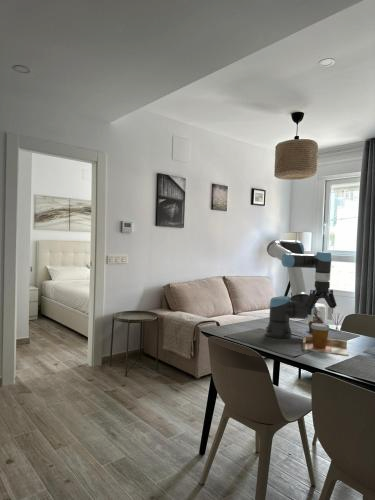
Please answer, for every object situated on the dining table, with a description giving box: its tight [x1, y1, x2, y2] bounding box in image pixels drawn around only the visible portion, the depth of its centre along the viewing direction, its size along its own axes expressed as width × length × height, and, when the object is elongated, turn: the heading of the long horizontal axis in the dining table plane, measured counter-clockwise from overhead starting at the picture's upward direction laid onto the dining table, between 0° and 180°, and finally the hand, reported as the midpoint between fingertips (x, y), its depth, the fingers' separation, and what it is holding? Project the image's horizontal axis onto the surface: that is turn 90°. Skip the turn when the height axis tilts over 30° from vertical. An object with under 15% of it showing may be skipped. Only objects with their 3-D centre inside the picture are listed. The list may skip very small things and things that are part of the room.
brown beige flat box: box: [302, 335, 349, 357], centre depth 189 cm, size 22×15×4 cm
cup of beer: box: [311, 322, 331, 349], centre depth 189 cm, size 10×10×12 cm
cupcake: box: [307, 315, 324, 333], centre depth 229 cm, size 10×10×10 cm
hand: (320, 320), depth 190 cm, fingers open, 13 cm apart
